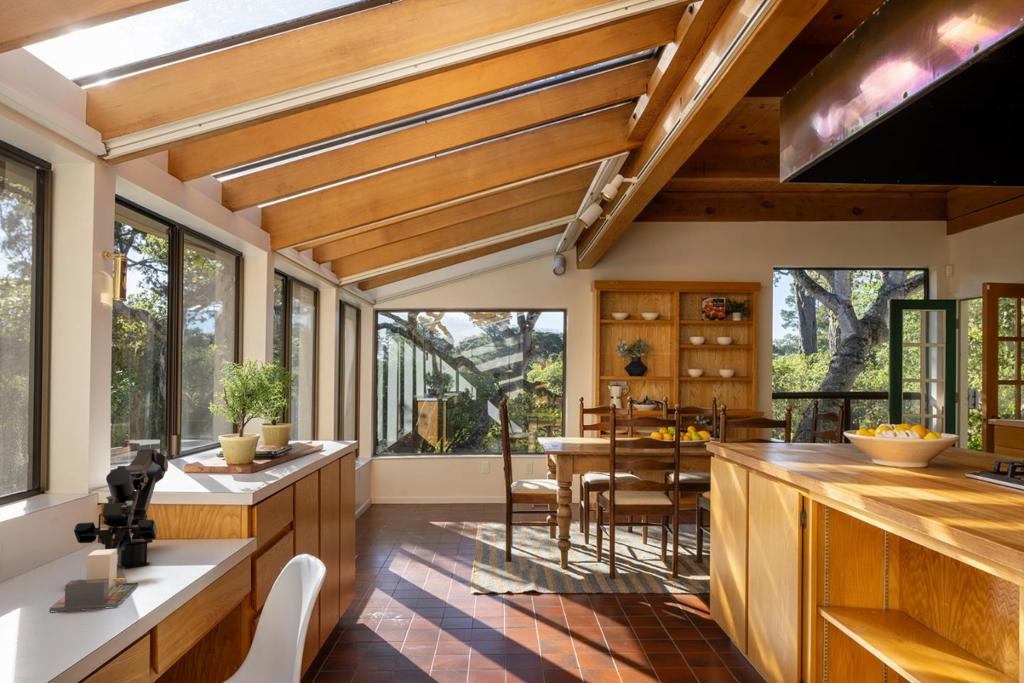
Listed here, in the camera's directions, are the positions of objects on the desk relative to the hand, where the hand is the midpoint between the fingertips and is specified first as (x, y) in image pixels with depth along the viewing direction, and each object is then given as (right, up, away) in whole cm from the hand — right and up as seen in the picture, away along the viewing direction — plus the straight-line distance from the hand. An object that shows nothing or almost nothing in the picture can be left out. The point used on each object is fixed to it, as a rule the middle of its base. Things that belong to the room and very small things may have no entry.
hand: (109, 559), depth 180 cm
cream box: (+1, -5, -6) cm, 8 cm away
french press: (-20, -10, +40) cm, 46 cm away
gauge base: (+2, -7, -9) cm, 12 cm away
